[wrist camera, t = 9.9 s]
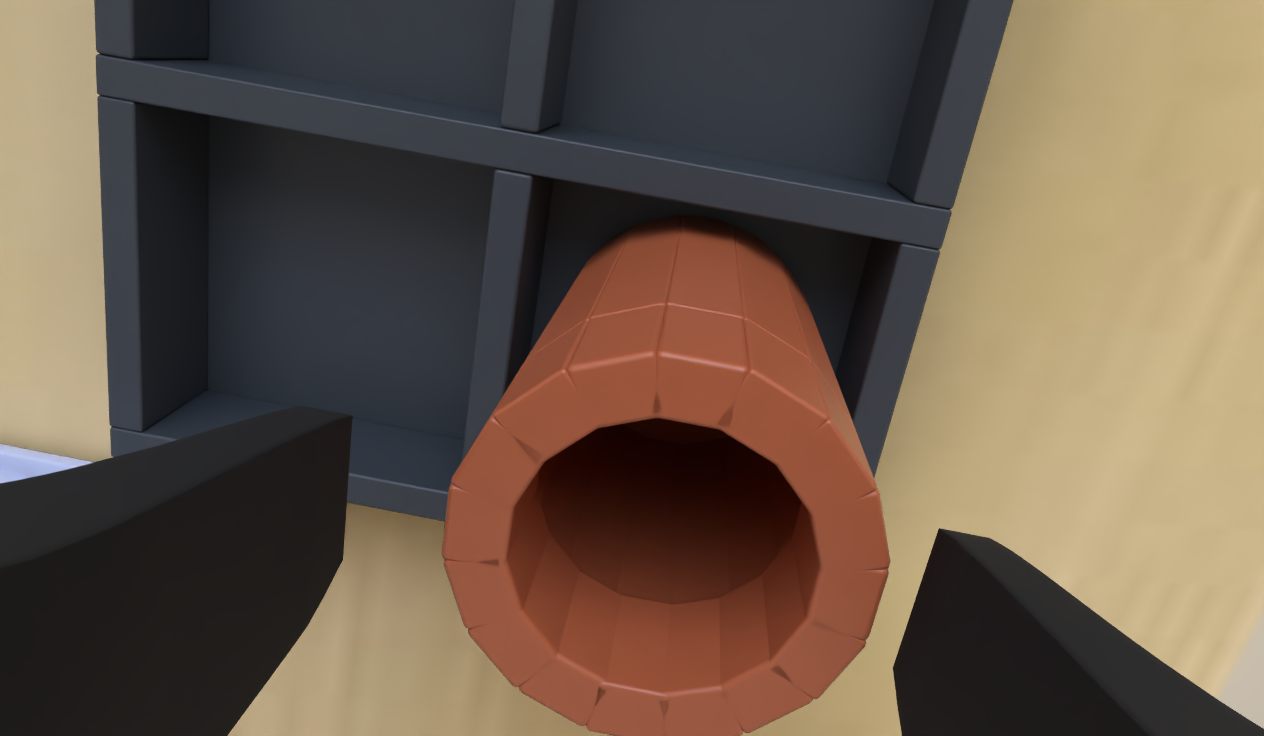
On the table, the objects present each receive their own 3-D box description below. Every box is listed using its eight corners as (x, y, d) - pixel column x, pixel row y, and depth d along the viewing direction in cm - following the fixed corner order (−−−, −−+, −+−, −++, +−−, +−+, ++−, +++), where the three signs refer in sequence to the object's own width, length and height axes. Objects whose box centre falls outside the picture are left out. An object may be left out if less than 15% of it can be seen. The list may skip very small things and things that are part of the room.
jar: (778, 469, 20) (826, 779, 11) (548, 425, 20) (424, 700, 11) (835, 240, 18) (944, 403, 9) (582, 193, 18) (465, 314, 10)
